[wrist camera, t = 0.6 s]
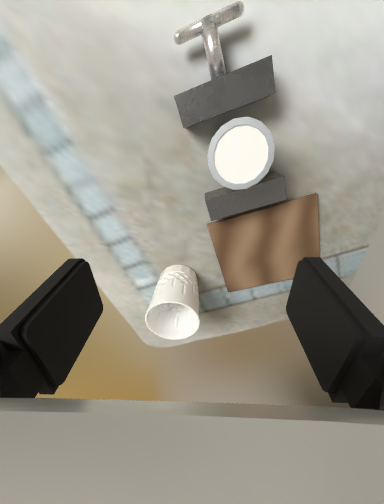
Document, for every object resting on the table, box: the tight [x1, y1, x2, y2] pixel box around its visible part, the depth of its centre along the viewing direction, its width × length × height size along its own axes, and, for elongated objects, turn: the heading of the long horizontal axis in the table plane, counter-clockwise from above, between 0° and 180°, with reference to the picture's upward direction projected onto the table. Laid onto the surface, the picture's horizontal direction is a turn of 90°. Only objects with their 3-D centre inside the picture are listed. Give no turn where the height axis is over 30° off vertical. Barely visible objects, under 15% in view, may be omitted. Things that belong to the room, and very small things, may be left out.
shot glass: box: [207, 117, 275, 190], centre depth 24 cm, size 7×7×7 cm
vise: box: [174, 1, 287, 221], centre depth 25 cm, size 10×20×4 cm, turn 18°
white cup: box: [145, 265, 200, 340], centre depth 34 cm, size 8×8×10 cm
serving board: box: [207, 193, 319, 292], centre depth 34 cm, size 16×14×1 cm
